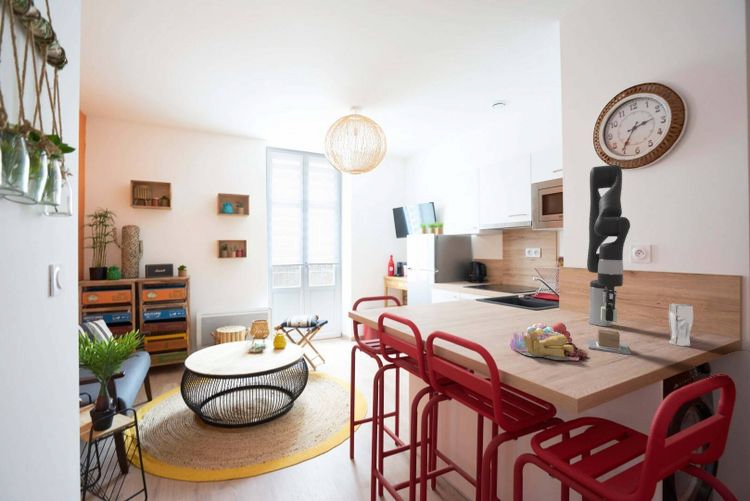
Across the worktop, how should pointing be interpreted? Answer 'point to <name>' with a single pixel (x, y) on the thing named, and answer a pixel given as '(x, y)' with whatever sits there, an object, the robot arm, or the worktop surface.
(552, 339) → the candy landscape model
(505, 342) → the worktop surface
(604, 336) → the walnut block
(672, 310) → the beer glass
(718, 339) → the worktop surface
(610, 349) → the pad
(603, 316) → the sage cube
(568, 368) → the worktop surface
